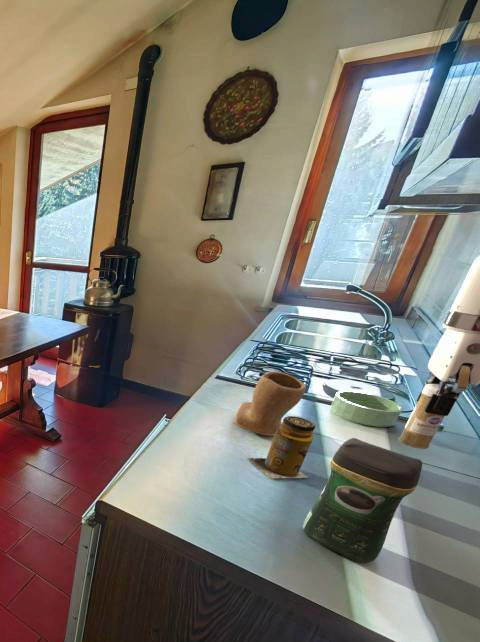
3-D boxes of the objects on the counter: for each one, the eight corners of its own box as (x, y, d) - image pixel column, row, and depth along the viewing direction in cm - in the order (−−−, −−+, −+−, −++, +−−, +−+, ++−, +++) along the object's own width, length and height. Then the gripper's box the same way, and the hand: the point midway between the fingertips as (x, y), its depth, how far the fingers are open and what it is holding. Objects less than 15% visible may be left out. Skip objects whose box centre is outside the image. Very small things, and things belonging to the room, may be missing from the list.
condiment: (308, 478, 83) (330, 429, 78) (270, 479, 82) (289, 430, 77) (281, 458, 89) (300, 412, 84) (246, 459, 89) (262, 413, 84)
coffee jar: (382, 550, 65) (436, 456, 57) (367, 572, 61) (423, 474, 53) (311, 515, 72) (351, 429, 65) (293, 533, 68) (334, 443, 61)
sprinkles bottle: (412, 449, 82) (442, 392, 76) (391, 438, 86) (418, 382, 81) (435, 450, 82) (467, 392, 76) (413, 438, 86) (441, 382, 80)
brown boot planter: (284, 445, 94) (306, 389, 88) (228, 428, 102) (245, 375, 96) (291, 423, 105) (311, 371, 99) (239, 409, 112) (255, 360, 106)
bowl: (387, 414, 110) (395, 398, 108) (399, 433, 100) (408, 416, 98) (326, 402, 117) (333, 386, 115) (332, 419, 107) (339, 403, 105)
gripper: (530, 336, 65) (475, 431, 72) (486, 316, 77) (443, 398, 85) (463, 329, 69) (417, 420, 76) (432, 311, 81) (395, 390, 89)
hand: (431, 407), depth 80 cm, fingers closed on sprinkles bottle, 4 cm apart
